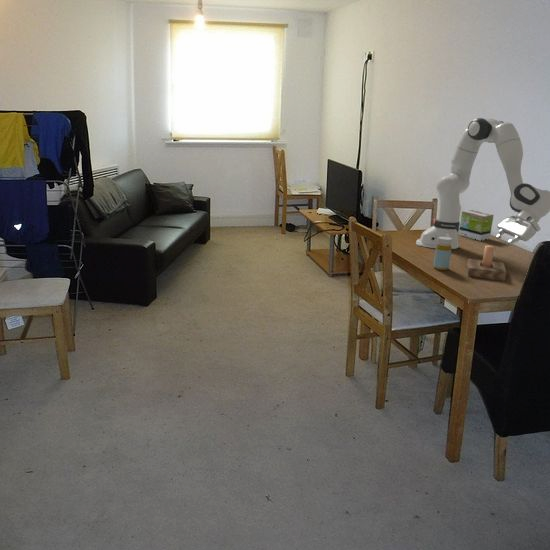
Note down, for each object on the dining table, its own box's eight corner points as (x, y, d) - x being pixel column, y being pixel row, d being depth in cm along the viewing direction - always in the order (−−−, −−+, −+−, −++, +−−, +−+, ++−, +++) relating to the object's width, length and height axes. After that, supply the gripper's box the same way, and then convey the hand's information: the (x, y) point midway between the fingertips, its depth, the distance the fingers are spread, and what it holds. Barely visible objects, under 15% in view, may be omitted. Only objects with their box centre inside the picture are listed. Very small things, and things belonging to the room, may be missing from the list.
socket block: (467, 276, 256) (468, 267, 255) (466, 266, 271) (468, 258, 269) (504, 280, 252) (506, 272, 251) (502, 270, 266) (503, 262, 265)
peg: (480, 274, 260) (485, 247, 256) (480, 271, 264) (484, 245, 260) (489, 275, 259) (494, 248, 255) (489, 272, 263) (494, 246, 259)
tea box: (457, 235, 331) (461, 210, 327) (468, 233, 337) (471, 209, 333) (479, 241, 320) (484, 215, 315) (490, 239, 326) (494, 214, 321)
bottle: (446, 271, 261) (450, 240, 256) (431, 268, 265) (435, 238, 260) (450, 268, 267) (454, 237, 262) (435, 265, 270) (439, 235, 266)
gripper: (508, 210, 265) (486, 230, 266) (536, 220, 246) (512, 242, 247) (515, 219, 268) (493, 239, 269) (543, 230, 249) (519, 251, 250)
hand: (502, 241), depth 258 cm, fingers open, 8 cm apart
